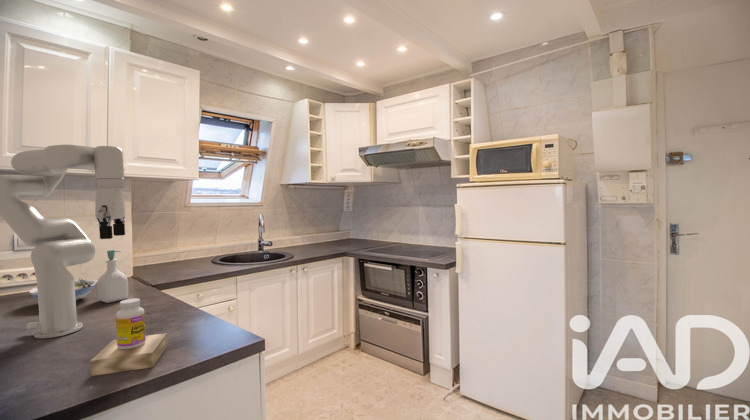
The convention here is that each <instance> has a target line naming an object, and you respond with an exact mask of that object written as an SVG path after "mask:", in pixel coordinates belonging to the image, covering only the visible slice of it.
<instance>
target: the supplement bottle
mask: <svg viewBox="0 0 750 420" xmlns="http://www.w3.org/2000/svg"><path fill="white" fill-rule="evenodd" d="M140 304H141V299H140V298H138V297H137V298H135V297H134V298H126V299H123V300H120V302H119V307H120V310H118V311H117V312H116V313H115V324H116V339H117V347H118V348H119V349H122V350H127V349H133V348H136V347H139V346H141V345H143V344H144V343H145V341H146V337H145V336H146V319H145V316H146V315H145V309H144V308H143V307H141V306H140Z"/></svg>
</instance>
